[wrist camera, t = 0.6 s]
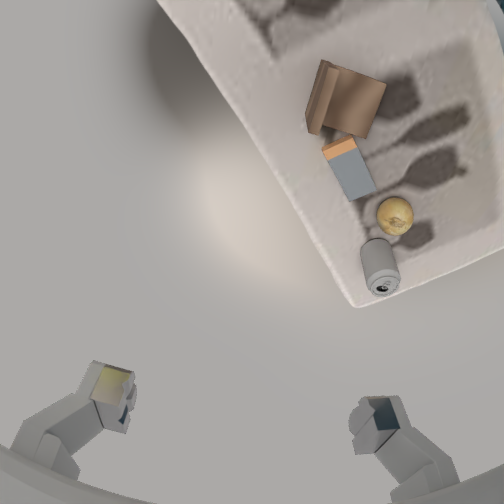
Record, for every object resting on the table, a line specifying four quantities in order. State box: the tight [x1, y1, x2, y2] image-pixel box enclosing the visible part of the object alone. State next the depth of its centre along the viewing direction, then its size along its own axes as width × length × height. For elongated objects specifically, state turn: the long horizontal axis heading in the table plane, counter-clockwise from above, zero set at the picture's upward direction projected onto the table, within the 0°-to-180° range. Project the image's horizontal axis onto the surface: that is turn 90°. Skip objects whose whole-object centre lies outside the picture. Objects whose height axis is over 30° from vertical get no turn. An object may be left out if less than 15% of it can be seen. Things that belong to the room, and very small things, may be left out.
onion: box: [377, 198, 414, 236], centre depth 57 cm, size 8×8×7 cm
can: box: [360, 239, 401, 297], centre depth 63 cm, size 8×8×12 cm
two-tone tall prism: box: [322, 134, 377, 202], centre depth 54 cm, size 12×6×2 cm, turn 33°
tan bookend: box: [305, 59, 387, 139], centre depth 42 cm, size 10×10×10 cm
